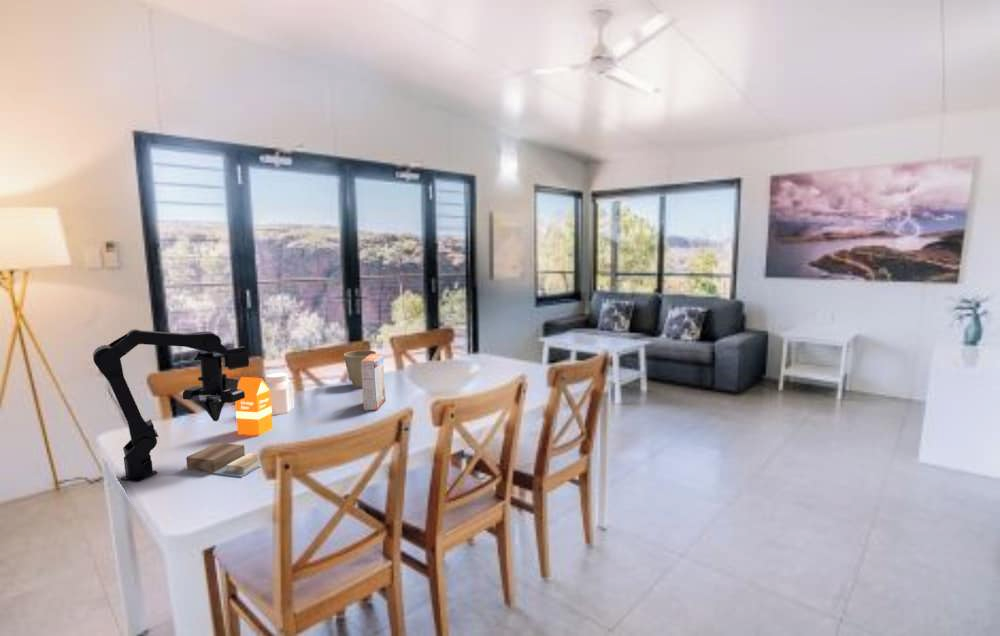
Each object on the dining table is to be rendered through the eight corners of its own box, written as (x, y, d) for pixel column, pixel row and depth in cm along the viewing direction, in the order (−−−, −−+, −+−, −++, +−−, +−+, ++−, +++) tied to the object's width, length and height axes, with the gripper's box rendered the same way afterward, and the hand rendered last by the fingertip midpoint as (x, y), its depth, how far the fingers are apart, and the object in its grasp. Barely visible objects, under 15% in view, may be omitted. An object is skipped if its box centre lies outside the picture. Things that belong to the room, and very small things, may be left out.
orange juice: (259, 435, 181) (255, 380, 178) (237, 434, 182) (232, 379, 180) (273, 428, 188) (269, 375, 186) (252, 427, 190) (247, 374, 187)
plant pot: (339, 388, 242) (337, 355, 240) (357, 380, 256) (355, 349, 254) (366, 390, 238) (364, 357, 236) (383, 382, 252) (382, 351, 250)
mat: (213, 474, 150) (213, 472, 150) (246, 456, 162) (246, 455, 162) (241, 477, 147) (241, 476, 147) (272, 459, 160) (272, 458, 159)
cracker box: (372, 400, 222) (370, 353, 219) (386, 400, 221) (384, 353, 219) (362, 410, 208) (359, 360, 205) (377, 410, 208) (374, 360, 205)
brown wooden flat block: (187, 469, 153) (186, 457, 152) (219, 454, 164) (218, 442, 164) (214, 473, 150) (213, 460, 150) (245, 457, 162) (244, 445, 161)
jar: (284, 415, 204) (282, 378, 202) (261, 415, 204) (258, 378, 202) (297, 406, 215) (294, 371, 213) (274, 406, 215) (272, 371, 213)
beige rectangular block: (243, 466, 149) (244, 473, 149) (265, 454, 157) (265, 461, 158) (226, 464, 150) (227, 471, 151) (248, 453, 159) (249, 459, 159)
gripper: (255, 367, 164) (259, 415, 166) (208, 365, 168) (212, 411, 170) (229, 376, 153) (233, 426, 155) (179, 373, 158) (183, 421, 160)
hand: (216, 420), depth 160 cm, fingers closed
